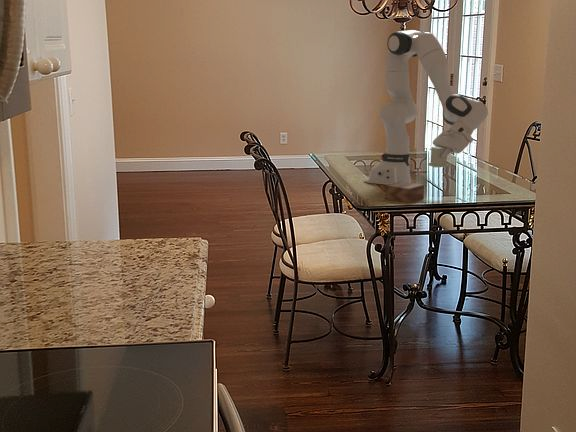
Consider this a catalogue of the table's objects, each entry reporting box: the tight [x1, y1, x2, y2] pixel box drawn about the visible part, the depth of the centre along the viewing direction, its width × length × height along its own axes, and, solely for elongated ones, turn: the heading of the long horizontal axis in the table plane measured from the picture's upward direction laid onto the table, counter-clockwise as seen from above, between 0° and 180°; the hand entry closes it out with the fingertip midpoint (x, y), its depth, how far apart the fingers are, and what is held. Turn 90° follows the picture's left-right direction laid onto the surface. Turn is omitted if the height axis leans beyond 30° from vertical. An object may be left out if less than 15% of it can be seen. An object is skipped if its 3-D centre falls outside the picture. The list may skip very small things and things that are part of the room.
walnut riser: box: [384, 182, 425, 203], centre depth 303 cm, size 12×12×6 cm
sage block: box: [427, 146, 449, 168], centre depth 306 cm, size 6×6×8 cm
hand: (437, 156), depth 305 cm, fingers closed on sage block, 5 cm apart
